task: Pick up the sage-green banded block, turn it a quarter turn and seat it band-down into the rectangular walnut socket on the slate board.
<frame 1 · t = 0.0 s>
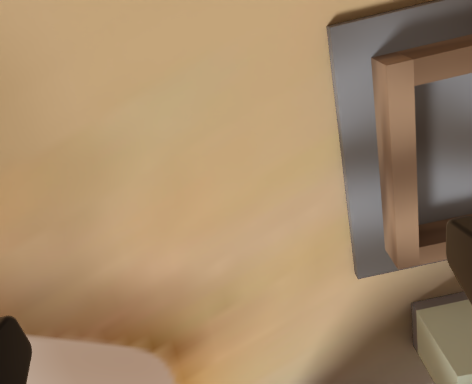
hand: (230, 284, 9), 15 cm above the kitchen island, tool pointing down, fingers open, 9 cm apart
socket: (450, 142, 24), on the kitchen island
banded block: (462, 313, 30), on the kitchen island
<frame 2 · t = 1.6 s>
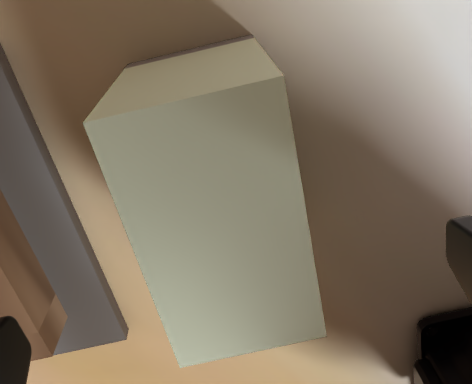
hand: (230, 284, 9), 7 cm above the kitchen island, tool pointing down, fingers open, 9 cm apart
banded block: (215, 149, 15), on the kitchen island
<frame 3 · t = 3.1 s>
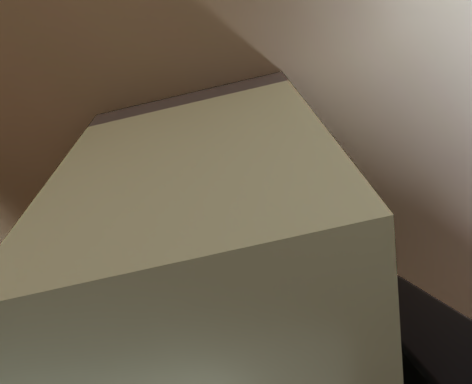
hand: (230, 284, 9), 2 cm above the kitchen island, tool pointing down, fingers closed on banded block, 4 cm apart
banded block: (225, 231, 11), on the kitchen island, touching gripper
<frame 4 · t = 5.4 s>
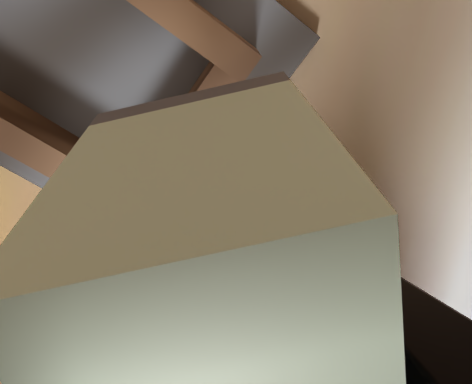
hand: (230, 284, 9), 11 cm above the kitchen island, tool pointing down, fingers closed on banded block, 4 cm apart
socket: (76, 48, 17), on the kitchen island
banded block: (226, 231, 11), point 9 cm above the kitchen island, touching gripper
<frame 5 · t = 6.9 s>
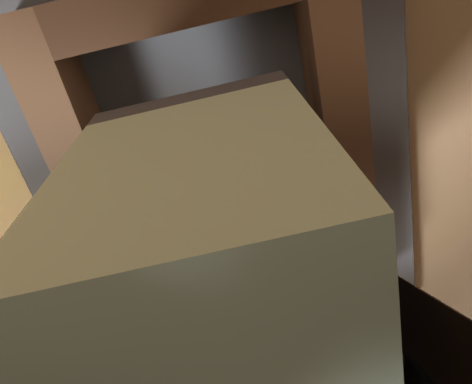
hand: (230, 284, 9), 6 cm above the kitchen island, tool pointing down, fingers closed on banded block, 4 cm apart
socket: (220, 162, 14), on the kitchen island
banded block: (225, 230, 11), point 4 cm above the kitchen island, touching gripper
when the fingers open (4 cm above the kitchen island, at t = 8.0 s): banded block drops 1 cm, resting on socket.
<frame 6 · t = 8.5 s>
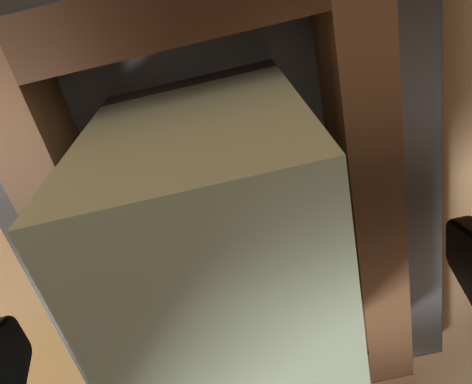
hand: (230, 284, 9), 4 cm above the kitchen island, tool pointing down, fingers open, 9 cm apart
socket: (222, 194, 12), on the kitchen island
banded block: (222, 204, 12), point 1 cm above the kitchen island, touching socket
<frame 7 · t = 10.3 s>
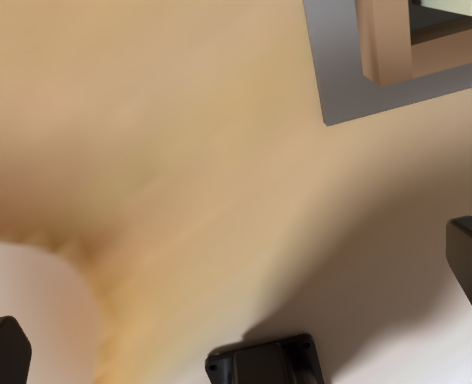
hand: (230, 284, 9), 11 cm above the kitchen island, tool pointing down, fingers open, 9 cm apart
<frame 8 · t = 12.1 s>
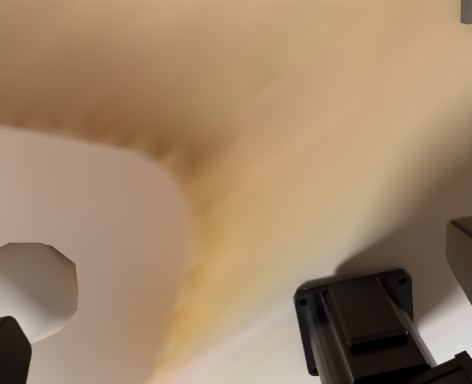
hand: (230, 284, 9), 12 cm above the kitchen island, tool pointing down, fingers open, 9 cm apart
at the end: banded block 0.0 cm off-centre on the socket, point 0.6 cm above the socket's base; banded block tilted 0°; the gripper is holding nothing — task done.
